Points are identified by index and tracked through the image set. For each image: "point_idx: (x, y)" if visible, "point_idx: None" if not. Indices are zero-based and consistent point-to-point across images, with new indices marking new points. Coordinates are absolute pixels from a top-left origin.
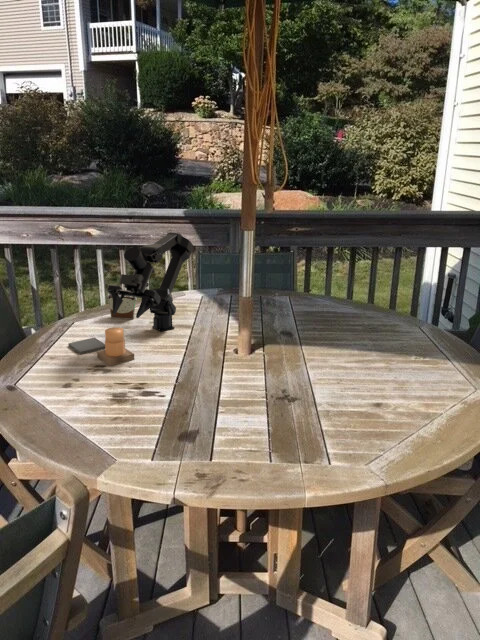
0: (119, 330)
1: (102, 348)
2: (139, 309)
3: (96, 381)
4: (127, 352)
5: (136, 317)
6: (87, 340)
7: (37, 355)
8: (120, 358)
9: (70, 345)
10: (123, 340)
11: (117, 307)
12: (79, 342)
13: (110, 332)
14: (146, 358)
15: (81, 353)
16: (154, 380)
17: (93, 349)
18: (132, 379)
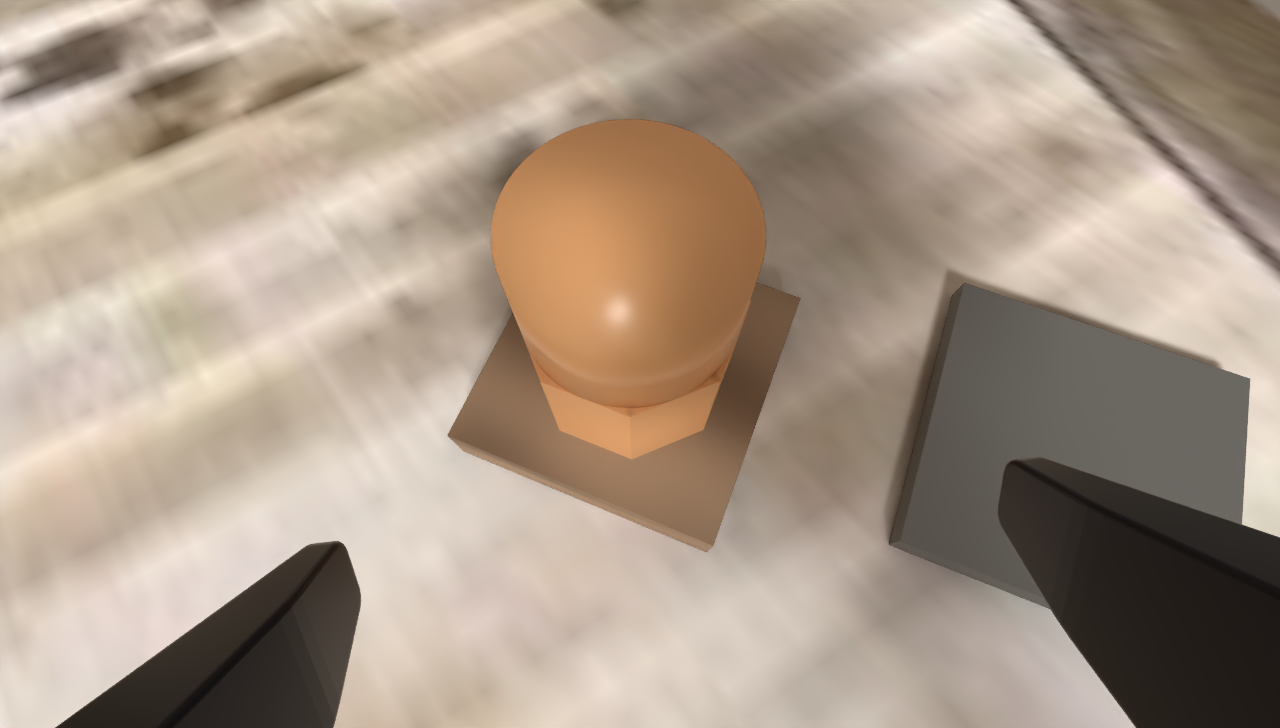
0: (558, 261)
1: (905, 489)
2: (157, 694)
3: (487, 38)
4: (530, 429)
5: (347, 564)
6: None
7: (1193, 134)
8: None
9: (1188, 361)
10: (522, 335)
11: (1183, 706)
12: (1195, 452)
13: (618, 147)
14: (365, 532)
15: (953, 298)
16: (102, 211)
17: (932, 397)
18: (272, 155)
